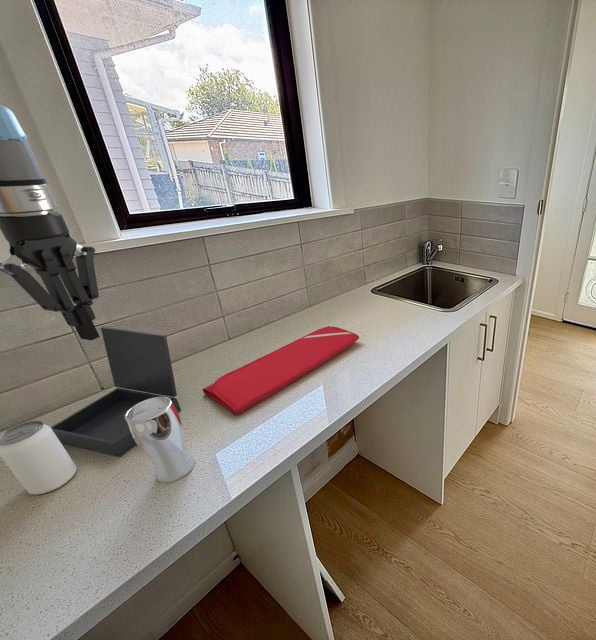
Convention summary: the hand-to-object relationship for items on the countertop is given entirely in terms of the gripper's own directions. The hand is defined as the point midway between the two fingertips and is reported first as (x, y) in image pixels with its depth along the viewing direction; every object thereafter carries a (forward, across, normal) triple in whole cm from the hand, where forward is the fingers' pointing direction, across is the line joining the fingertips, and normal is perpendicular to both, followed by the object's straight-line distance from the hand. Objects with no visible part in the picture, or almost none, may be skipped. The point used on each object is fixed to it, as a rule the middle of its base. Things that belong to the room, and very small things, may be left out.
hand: (90, 337), depth 65 cm
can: (+22, -15, 0) cm, 27 cm away
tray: (+22, -1, +2) cm, 22 cm away
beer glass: (+22, -8, -20) cm, 31 cm away
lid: (+11, +7, +2) cm, 13 cm away
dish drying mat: (+22, +29, -21) cm, 42 cm away
